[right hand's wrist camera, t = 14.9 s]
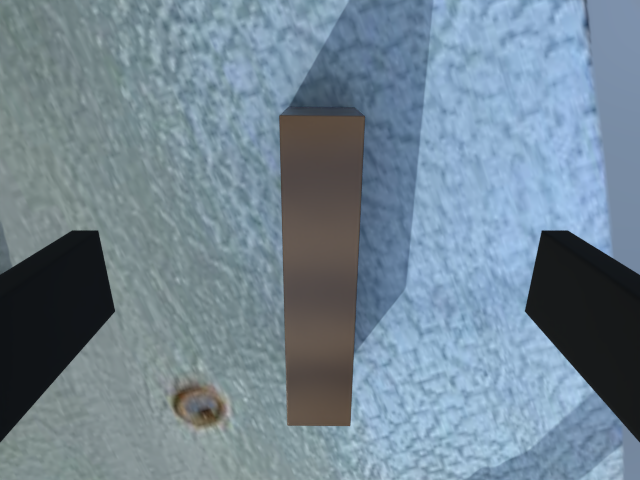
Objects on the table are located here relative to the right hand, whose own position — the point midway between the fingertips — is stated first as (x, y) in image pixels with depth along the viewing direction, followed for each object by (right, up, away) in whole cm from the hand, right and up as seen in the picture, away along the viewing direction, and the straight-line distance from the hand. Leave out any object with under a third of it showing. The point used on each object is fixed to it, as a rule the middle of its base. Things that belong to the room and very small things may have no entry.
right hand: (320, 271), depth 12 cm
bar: (0, 0, +26) cm, 26 cm away
